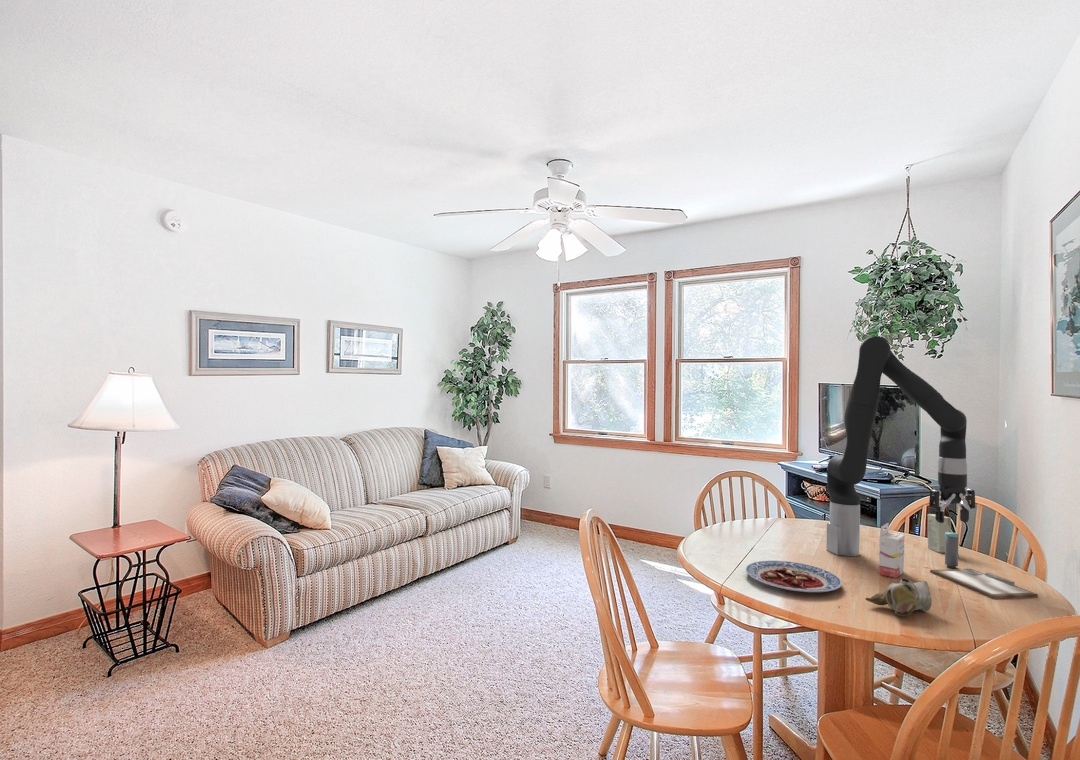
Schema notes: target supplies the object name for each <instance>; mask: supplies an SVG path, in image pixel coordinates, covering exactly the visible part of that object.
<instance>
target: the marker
mask: <svg viewBox="0 0 1080 760" xmlns="http://www.w3.org/2000/svg"><path fill="white" fill-rule="evenodd" d="M959 536H960V535H959V533H957V532H953V531H951V532H945V553H944V565H946V567H947V568H948V569H957V567H958V566H959Z"/></svg>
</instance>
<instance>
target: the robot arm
mask: <svg viewBox="0 0 1080 760" xmlns="http://www.w3.org/2000/svg"><path fill="white" fill-rule="evenodd" d="M858 349H859V351H858V353H859V354H858V363H857V369H856V370H857V371H856V375H855V378H854V380H853V383H852V387H851V388H850V393H849V396H848V398H847V402H846V406H845V410H844V416H843V417H844V419H843V421H844V428H845V434H846V446H845V450H844V454H836V455H834V456H832V457H831V458H830V459H829V461H828V463H827V469H826V485H827V488H826V489H827V492H828V495H829V522H827V523H826V550H827V551H828V552H829V553H830V552H831V553H832V554H834V555H836V556H845V557H846V556H847V557H857V556H859V555H860V543H861V541H860V537H861V535H860V534H861V533H860V532H861V530H860V529H861V527H860V525H861V524H860V523H861V496H860V495H859V494H858V492H857V491H856V488H855V485H858V484H860V483H861V482H862V481H863V480H864V478H865V475H866V470H867V465H868V463H867V462H868V453H869V448H870V447H869V446H870V442H871V438H872V432H873V427H874V423H875V420H876V416H877V412H878V409H879V403H880V402H879V401H880V395H881V394H880V391H881V379H882V374H883V375H884V376H886V377H887V378H888V379H890V380H891V381H892V382H893V383H894V384H895V385H896V386H897V387H898V388H899V389H900V390H902V391H903V393H904V394H906V396H907V397H908V398H910V399H911V400H912V401H913V402H914V403H915V404H916V405H917V406H919V407H920V408H921V409H922V410H924V411H925V412H926V413H927V415H929V416H930V418H931V419H932V420H933V421H934V422H935V423H936V424H937V425H938V426H939V427H940V428H939V429H940V439H939V443H938V460H937V484H938V486H939V489H938V490H937V489H932V488H931V489H930V490H929V503H928V507H929V508H931V509H933V510H935V511H934V512H935V513H934V514H935V515H936V516H935V519H936V521H937V522H940V523H944V516H945V511H944V510H945V509H946V508H947V507H948V506H950V505H954V504H957V505H958V506H959V507H960V510H959V511H960V512H959V518H960V519H959V520H960V521H961V522H963V523H968V522H969V520H970V518H969V517H970V511H971V510H972V509H975V508H976V492H975V491H976V490H974V489H971V488H967V486H968V463H967V446H966V445H967V444H966V438H967V437H966V436H967V435H966V434H967V424H968V423H967V416H966V414H965V413H964V412H963V411H962V410H960V409H957V408H956V407H954V406H953V404H951V403H950V402H948V401H947V400H946V399H945V397H944V396H943V395H942V394H941V393H940V392H939V391H938V390H937V389H936V388H934V387H933V386H932V385H931V384H929V382H927V381H926V380H925V379H924V378H922V377H921V376H919V375H918V374H916V373H915V372H913V371H912V370H910V368H908V367H907V366H906V365H905V364H903V363H902V362H901V361H900V359H898V357H897V356H896V355H895V354H894V353H893V352H892V350H891V345H890V342H889V341H888V340H886V339H885V338H884V337H882V336H879V335H873V336H869V337H867V338H865V339H864V340H863V341H862V342H861V344H860V345H859V348H858Z"/></svg>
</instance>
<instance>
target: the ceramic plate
mask: <svg viewBox="0 0 1080 760" xmlns="http://www.w3.org/2000/svg"><path fill="white" fill-rule="evenodd" d="M745 572H746V574H747V575H748V576H749V577H751V578H752V579H753V580H755V581H757V582H760V583H762V584H765V585H767V586H772V587H774V588H777V589H781V590H786V591H789V592H796V593H797V592H798V593H826V592H827V593H828V592H831V591H835V590H838V589H840V588H841V587H842V585H843V582H842V581H843V580H842V579H841V578H840V577H838V575H836V574H834V573H832V572H830V571H829V570H826V569H825V568H824V569H823V568H821V567H818V566H815V565H810V564H806V563H800V562H795V561H794V562H793V561H787V560H786V561H785V560H763V561H761V560H759V561H755V562H752V563H750V564H748V565H747V566H746V567H745Z"/></svg>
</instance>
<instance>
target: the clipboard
mask: <svg viewBox="0 0 1080 760" xmlns="http://www.w3.org/2000/svg"><path fill="white" fill-rule="evenodd" d="M929 572H930V574H933V575H935V576H938V577H941V578H942V579H945V580H948V581H949V582H951V583H954V584H957V585H959V586H961V587H964V588H965V589H968V590H970V591H973V592H975V593H978V594H980V595H983V596H985V597H987V598H990V599H1015V598H1016V599H1018V598H1019V599H1020V598H1021V599H1022V598H1038V597H1039V595H1038V593H1036V592H1033V591H1030V590H1028V589H1025V588H1022V587H1020V586H1018V585H1015V581H1013V580H1010V579H1008V578H1005V577H1002V576H999V575H997V574H994V573H992V572H985V573H983V572H981V571H978V570H975V569H973V568H946V569H945V568H944V569H942V568H941V569H930V570H929Z"/></svg>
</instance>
